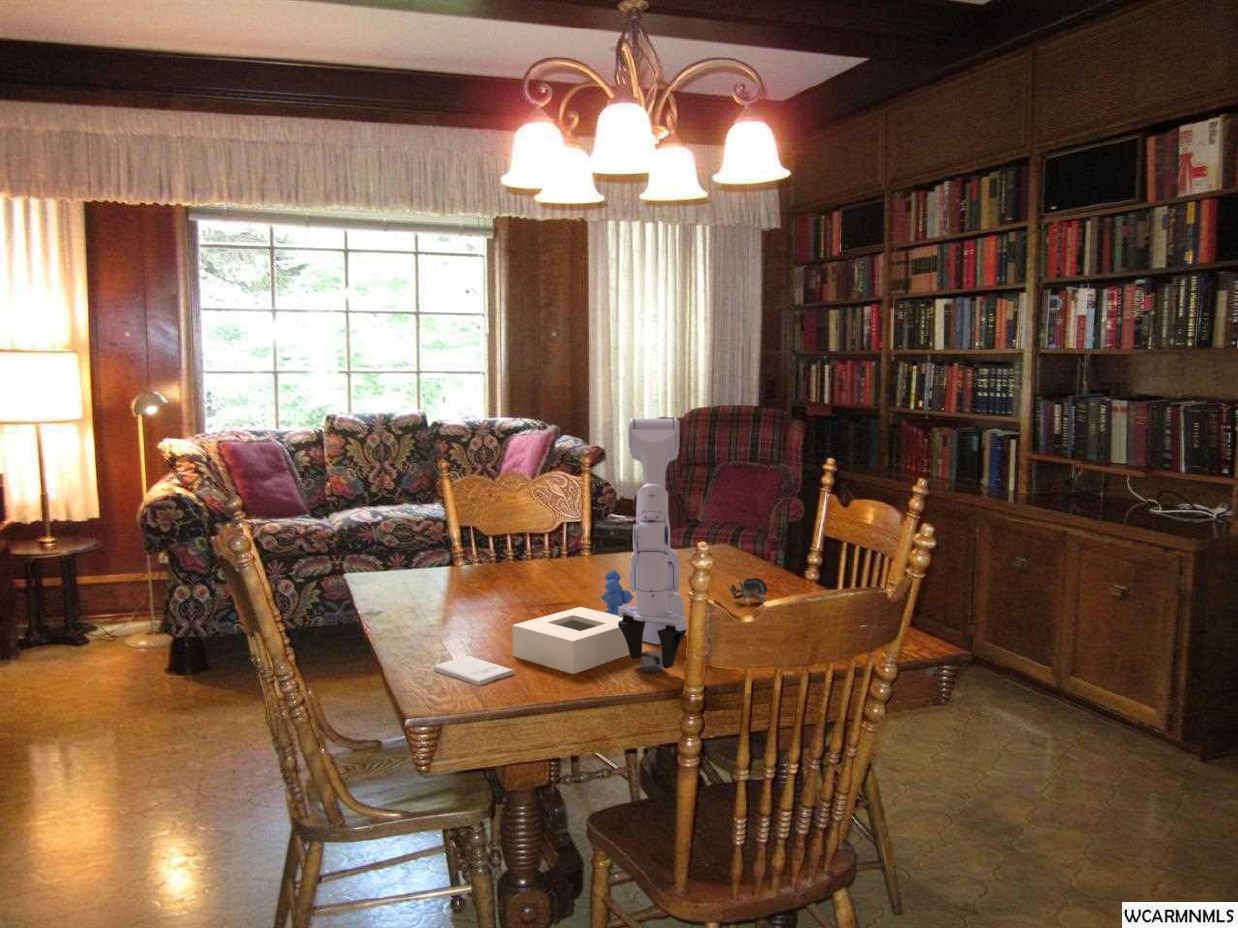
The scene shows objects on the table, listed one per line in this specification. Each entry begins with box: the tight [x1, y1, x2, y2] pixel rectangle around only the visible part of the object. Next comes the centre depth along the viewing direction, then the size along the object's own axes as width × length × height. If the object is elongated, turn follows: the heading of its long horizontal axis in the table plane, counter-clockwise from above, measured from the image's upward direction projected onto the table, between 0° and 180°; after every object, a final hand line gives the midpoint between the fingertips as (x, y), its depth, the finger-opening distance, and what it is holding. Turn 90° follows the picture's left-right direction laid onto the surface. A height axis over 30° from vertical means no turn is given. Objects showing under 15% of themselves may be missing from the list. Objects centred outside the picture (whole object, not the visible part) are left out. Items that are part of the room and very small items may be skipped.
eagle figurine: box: [727, 577, 769, 604], centre depth 224 cm, size 8×7×9 cm
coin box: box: [511, 606, 630, 675], centre depth 187 cm, size 18×16×6 cm
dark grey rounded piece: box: [640, 650, 664, 675], centre depth 177 cm, size 4×4×3 cm
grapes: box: [601, 569, 634, 616], centre depth 207 cm, size 12×7×12 cm, turn 0°
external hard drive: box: [433, 655, 515, 686], centre depth 177 cm, size 2×8×12 cm
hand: (651, 662), depth 177 cm, fingers open, 7 cm apart
